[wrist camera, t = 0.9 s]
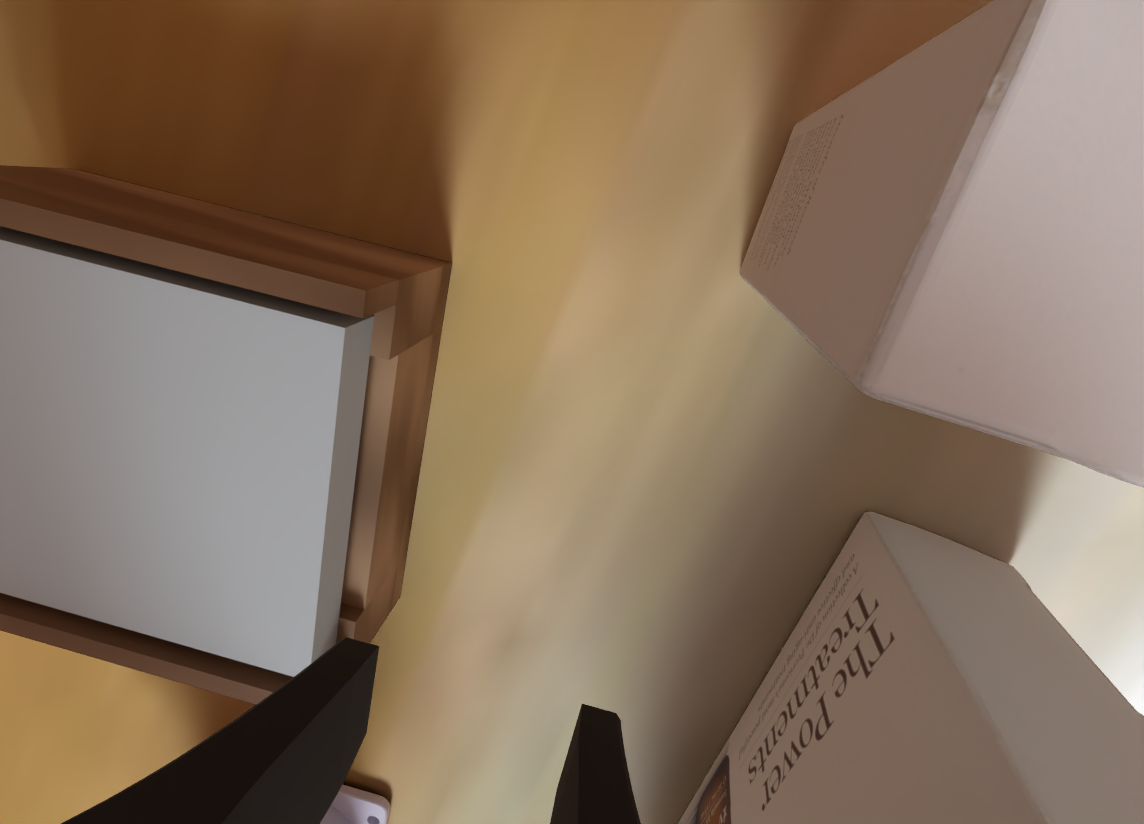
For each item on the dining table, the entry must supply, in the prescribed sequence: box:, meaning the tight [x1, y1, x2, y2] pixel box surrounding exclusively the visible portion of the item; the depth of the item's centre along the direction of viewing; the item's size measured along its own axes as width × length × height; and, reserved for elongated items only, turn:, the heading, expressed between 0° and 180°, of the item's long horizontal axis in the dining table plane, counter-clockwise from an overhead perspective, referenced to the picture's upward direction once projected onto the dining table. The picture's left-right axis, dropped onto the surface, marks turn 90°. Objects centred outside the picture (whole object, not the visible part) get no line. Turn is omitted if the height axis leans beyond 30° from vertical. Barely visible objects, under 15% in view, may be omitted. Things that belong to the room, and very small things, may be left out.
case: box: [0, 166, 452, 705], centre depth 18 cm, size 12×12×6 cm
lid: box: [0, 226, 374, 677], centre depth 17 cm, size 10×10×2 cm
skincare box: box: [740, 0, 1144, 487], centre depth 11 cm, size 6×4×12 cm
